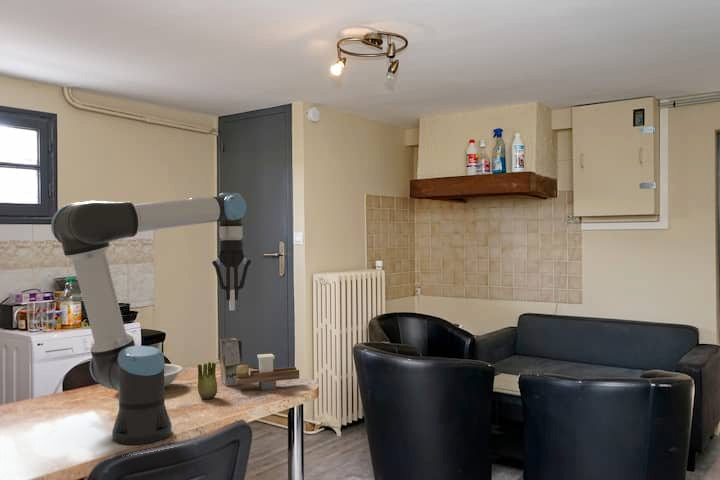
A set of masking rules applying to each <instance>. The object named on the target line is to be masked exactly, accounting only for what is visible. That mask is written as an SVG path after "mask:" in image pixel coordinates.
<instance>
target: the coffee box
mask: <svg viewBox="0 0 720 480" xmlns="http://www.w3.org/2000/svg"><path fill="white" fill-rule="evenodd" d="M242 341H243V340H241V339H240V338H238V337H225V338H220V339H219V343H220V345H219V347H220V352H219V353H220V382H221V383H222V384H223V385H224V386H226V387H229V386H237V385H239V386H241V384H236V382H235V376H237V366H239V365H243V349H242V348H243V346H242V343H243V342H242Z"/></svg>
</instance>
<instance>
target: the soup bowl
mask: <svg viewBox="0 0 720 480" xmlns="http://www.w3.org/2000/svg"><path fill="white" fill-rule="evenodd" d="M183 371H184V367H183V366H181V365H178V364H173V363H165V367H164V388H165V387H168V386H169V385H171V383H173V382H174V381H175V380H176V379H177V377H178V375H179V374H180V373H181V372H183Z"/></svg>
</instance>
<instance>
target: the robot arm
mask: <svg viewBox="0 0 720 480" xmlns="http://www.w3.org/2000/svg"><path fill="white" fill-rule="evenodd" d="M246 211H247V203H246V201H245V199H244V198H243V197H242V195H241V194H240V193H238V192H221V193H219V195H218V196H210V197H209V196H207V197H199V196H196V197H190V198H187V199H177V200H168V201H159V202H156V201H154V202H147V203H146V202H145V203H138V204H137V203H135V204H134V203H133V202H131V201H129V200H128V201H104V200H103V201H100V200H98V201H97V200H89V201H88V200H87V201H82V202H81V201H80V202H72V203H68V204H66V205H63V206H62V207H60V208H58V210H57V211H55V213H54V215H53V217H52V219H51V224H50V227H51V232H52V234H53V237H54V238H55V239H56V241H58V242H59V243H60V244H61V247H62V250H63V251H62V252H63V255H64V257H65V258H68V259H70V260H71V261H72V265H73V267H74V272H75V275H76V278H77V282H78V287H79V290H80V294H81V297H82V301H83V305H84V308H85V312H86V316H87V319H88V323H89V327H90V331H91V335H92V337H93V341H94V342H93V344H92V345H91V346H90V349H89V350H90V353H91V359H90V361H89V371H90V375H91V377H92V378H93V381H95V382H96V383H98V384H99V385H100V386H102V387H105V388H107V389H112V390H114V391H118V412H117V414H116V418H115V421H114V424H113V428H112V431H111V433H112V435H111V437H112V441H113V442H114V443H116V444H120V445H131V446H132V445H143V444H149V443H154V442H159V441H161V440H163V439H165V438H167V437H169V436H171V434H172V433H173V431H172V429H173V428H172V426H173V425H172V421H171V419H170V416H169V414H168V410H167V407H166V404H165V403H166V402H165V387H164V367H165V364H166V363H165V359H164V353H163V352H162V350H161V349H159V348H157V347H155V346H146V345H136V344H135V340H134V336H133V335H130V334H128V333H127V331H126V329H125V328H126V327H125V324H124V319H123V317H122V316H123V315H122V311H121V310H120V305H119V300H118V296H117V293H116V292H117V291H116V289H115V285H114V281H113V277H112V273H111V269H110V265H109V262H108V258H107V254H106V253H107V251H108V249H109V248H110V242H113V241H116V240H121V239H126V238H134V237H136V236H137V234H138V233H143V232H149V231H156V230H164V229H172V228H178V227H184V226H185V227H186V226H193V225H200V224H201V225H202V224H207V223H208V224H209V223H214V222H215V223H217V222H218V223H219V238H220V239H221V240H219V254H218V257H217V258H216V259H214V260H212V261H211V264H212V265H213V267H214V269H215V273H216V276H217V280H218V284H219V288H221V290H224V291H225V299H226V301H228V302H229V303H228V306H229V311H230V312H231V311H232V312H233V311H235V310H236V301H239V300H238V299H239V290H241V289H243V288H244V285H245V281H246V276H247V273H248V269H249V266H250V264H251V262H252V261H251V259H248V258H247V257H245V254H244V250H243V248H244V247H243V246H244V241H243V240H242V239H243V238H244V237H243V217H244V216H245V214H246ZM220 263H221V264H222V265H223V266H224V269H225V271H224V272H225V284H224V278H223V276H222V273H221V269H220V268H221V267H220V266H219V265H220ZM241 263H242V264H243V267H242V271H241V275H240V279H239V266H240V265H241ZM231 268H232V279H233V289H231Z"/></svg>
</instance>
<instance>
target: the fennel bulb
mask: <svg viewBox="0 0 720 480" xmlns="http://www.w3.org/2000/svg"><path fill="white" fill-rule="evenodd" d="M216 367H217V362H211V361H208V362H205V363H203V364H202V363H199V364H197V378H198V379H197V392H198V395H199V397H200V398H201V399H204V400H211V399H214V398H215V397H216V396H217V394H218V381H217V376H216Z"/></svg>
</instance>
